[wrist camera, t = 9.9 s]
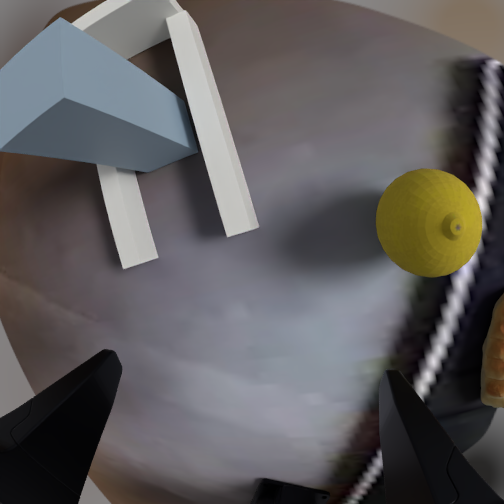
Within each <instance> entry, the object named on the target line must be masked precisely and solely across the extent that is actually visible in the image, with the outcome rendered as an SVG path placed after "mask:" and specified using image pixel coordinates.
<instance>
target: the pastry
mask: <svg viewBox="0 0 504 504" xmlns="http://www.w3.org/2000/svg"><path fill="white" fill-rule="evenodd" d="M482 351H483V359H482V370H481V401H482V402H483V403H484V404H485V405H491V406H493V407H495V408H499V407H502V408H504V294H503V295H502V296H501V297H500V298H499V299H498V301H497V302H496V304H495V306H494V309H493V313H492V321H491V325H490V327H489V330H488V334H487V337H486V339H485V341H484V344H483V347H482Z"/></svg>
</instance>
